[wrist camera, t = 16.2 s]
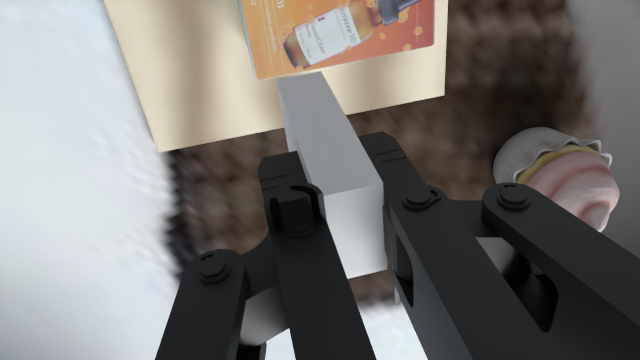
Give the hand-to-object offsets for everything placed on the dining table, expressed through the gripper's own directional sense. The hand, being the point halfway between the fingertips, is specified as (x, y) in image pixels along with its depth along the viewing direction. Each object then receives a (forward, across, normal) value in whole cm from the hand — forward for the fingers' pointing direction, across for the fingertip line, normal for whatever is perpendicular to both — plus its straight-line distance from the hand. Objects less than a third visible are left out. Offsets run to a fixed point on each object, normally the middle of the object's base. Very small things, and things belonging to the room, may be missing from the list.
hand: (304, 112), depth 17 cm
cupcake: (+17, -20, +18) cm, 32 cm away
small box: (+14, +1, 0) cm, 14 cm away
